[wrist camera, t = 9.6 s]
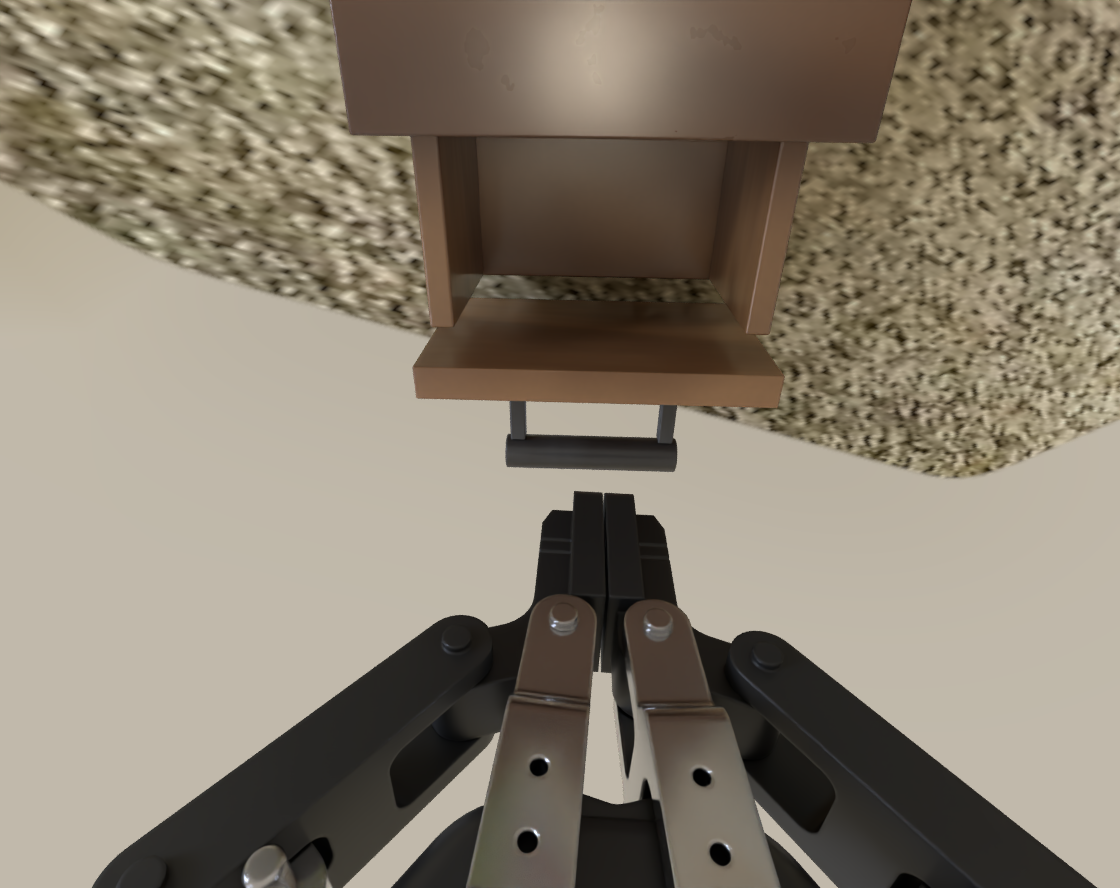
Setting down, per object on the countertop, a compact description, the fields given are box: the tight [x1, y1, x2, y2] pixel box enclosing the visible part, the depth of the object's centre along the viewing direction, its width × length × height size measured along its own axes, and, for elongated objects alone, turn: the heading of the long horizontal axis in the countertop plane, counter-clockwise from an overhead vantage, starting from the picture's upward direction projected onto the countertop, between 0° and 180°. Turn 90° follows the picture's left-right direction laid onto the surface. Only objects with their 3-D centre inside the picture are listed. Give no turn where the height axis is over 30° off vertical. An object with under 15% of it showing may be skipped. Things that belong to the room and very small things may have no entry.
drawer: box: [410, 136, 809, 472], centre depth 21 cm, size 18×12×8 cm
